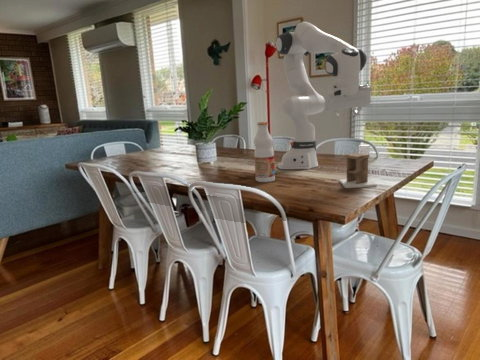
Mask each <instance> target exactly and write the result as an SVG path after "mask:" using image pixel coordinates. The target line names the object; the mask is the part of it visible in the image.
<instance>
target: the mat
mask: <svg viewBox="0 0 480 360" xmlns="http://www.w3.org/2000/svg"><path fill="white" fill-rule="evenodd" d="M338 182H339V183H340V184H341V185H342V186H343V187H344V188H345V189H351V188H370V187H371V188H373V187H374V188H376V187H377V186H378V184H377V183H375V181H373V180H371V178H369V177H368V182H365V183H360V184H356V180H354V181H349V182H347V178H340V179H339V181H338Z"/></svg>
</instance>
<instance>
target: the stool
mask: <svg viewBox="0 0 480 360" xmlns="http://www.w3.org/2000/svg"><path fill="white" fill-rule="evenodd" d="M344 158H346V179H347V182H349V181H354V180H356V184H360V183H365V182H368V178H369V176H368V175H369V158H370V154H363V153H359V152H354V153H348V154H345V157H344Z"/></svg>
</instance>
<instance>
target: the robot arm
mask: <svg viewBox="0 0 480 360" xmlns="http://www.w3.org/2000/svg"><path fill="white" fill-rule="evenodd" d="M275 49H276V51H277V53H278V54H280V55H283V56H284V57H283V68H284V69H283V70H284V74H285V78H286V82H287V85H288V88H289V90H291V91H292V92H294V93H295V94H296V95H292V96H288V97H286V98H285V99H284V100H283V103H282V111H283V113H284V114H285V115H286V116H287V117H288V118H289V119H290V120H291V123H292V125H293V130H294V140H293V141H290V147H291V148H290V149H289V150H287V151H286V152H285V153H284V154H283V156H282V158H281V162H280V163H278V164H277V168H278V169H280V170H309V169H310V170H311V169H314V168H316V167H318V166H319V162H318V158H317V141H316V127H315V125H314V123H311V122H310V120H309V119H308V116H311V115H316V114H317V115H318V114H320V113H322V112H324V109H325V110H326V111H327V112H333V114H334V119H337V120H338V119H340V114H339V113H337V112H338V111H339V110H340V111H341V110H345V109H346V110H347V109H354V108H357V109H356V110H354V116H360V112H361V111H362V109H363V107H366V106H369V105H370V104H371V100H372V99H371V97H372V96H371V92H372V86H371V85H369V84H364V85H363V84H362V85H360V76H359V75H360V72H361V71H362V70H363V69H364V68H365V66H366V64H367V58H368V57H367V54H366V53H365V51H364V50H363V49H362V48H360V47H355V46H352V45H351V44H350V43H348V42H347V41H344V40H342V39H341V38H339V37H337V36H334V35H331V34H329V33H326V32H324V31H322V30H321V29H320V28H318V27H317V26H316V25H314V24H312V23H311V22H308V21H301V22H300V23H298V24H297V25H296V27H295V29H294V31H290V32H289V31H288V32H287V31H286V32H284V33H280V34H279V35H277V37H276V40H275ZM324 53H330V54H329V55H327V57H326V59H325V61H324V69H325V70H324V71H325V72H326V73H327V74H328V75H329V76H331V77H338V79H337V82H336V83H334V84H332V85H330V86H328V87H327V88H326V91H327V93H326V95H325V97H324V96H323V95H321V94H320V93H318V92H317V91H316V90H315V89H314V87H313V86H312V84H311V82H310V79H309V76H308V74H307V70H306V66H305V64H304V56H309V54H316V55H317V54H324ZM331 53H332V54H331Z"/></svg>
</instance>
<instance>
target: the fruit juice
mask: <svg viewBox="0 0 480 360" xmlns="http://www.w3.org/2000/svg"><path fill="white" fill-rule="evenodd" d="M256 125H257V127H258V129H257V133H256V136H255V137H254V138H253V143H254V147H255V149H254V154H253V155H254V169H255V170H254V172H255V173H254V175H255V181H256V182H257V181H258V183H271V182H274V181H275V180H276V174H275V173H276V171H275V170H276V169H275V167H276V166H275V151H274V148H273V145H274V139H273V137H272V135H271V134H270V132H269V129H268V126H269V122H268V121H259V122H257V124H256Z"/></svg>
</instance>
